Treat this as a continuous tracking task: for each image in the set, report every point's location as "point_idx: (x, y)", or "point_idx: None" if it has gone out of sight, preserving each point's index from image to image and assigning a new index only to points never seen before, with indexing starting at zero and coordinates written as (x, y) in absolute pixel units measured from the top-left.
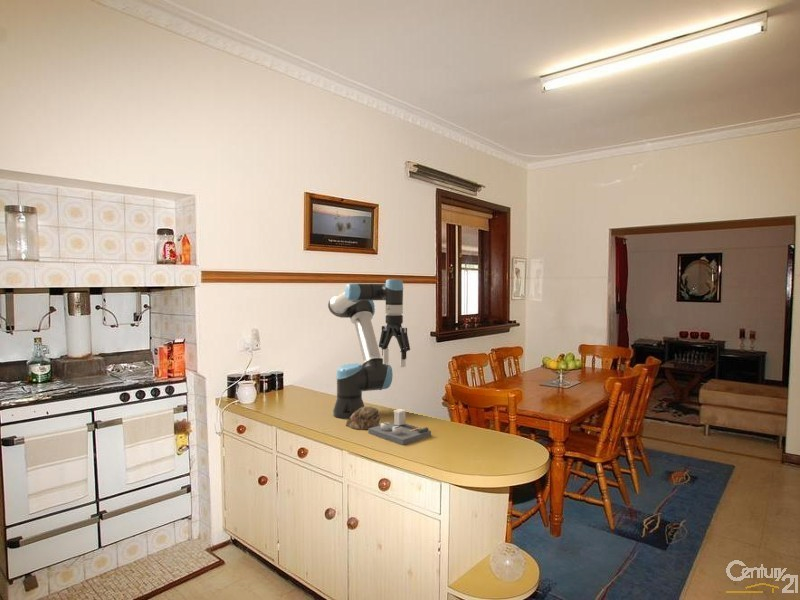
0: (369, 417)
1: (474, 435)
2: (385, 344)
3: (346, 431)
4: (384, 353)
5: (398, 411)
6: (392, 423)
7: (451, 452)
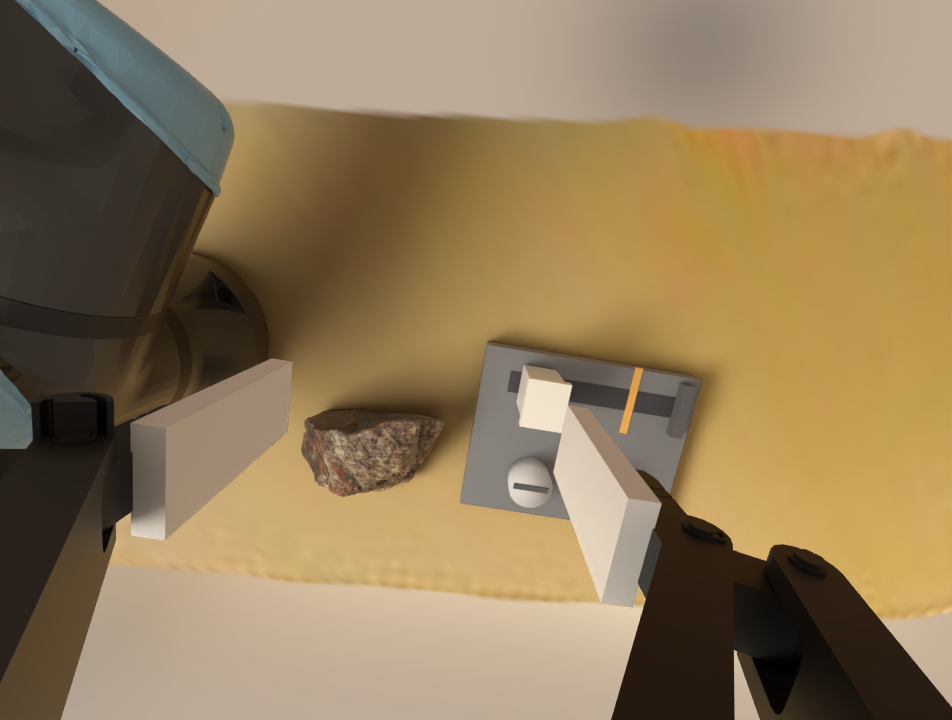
0: (413, 464)
1: (854, 252)
2: (93, 597)
3: (375, 522)
4: (211, 489)
5: (552, 427)
6: (496, 389)
7: (839, 483)
